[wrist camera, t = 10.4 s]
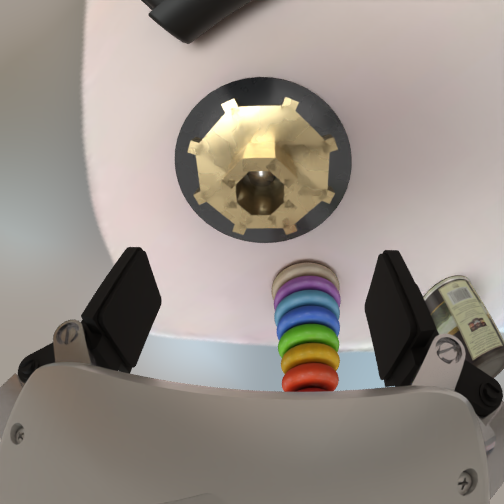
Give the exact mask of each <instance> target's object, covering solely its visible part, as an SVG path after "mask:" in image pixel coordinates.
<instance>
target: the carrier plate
mask: <svg viewBox="0 0 504 504" xmlns="http://www.w3.org/2000/svg"><path fill="white" fill-rule="evenodd" d="M284 97H288V98H290V99H293V100H295V101H298V102H299V103H298V106H297V108H296V110H295V111H296V112H297V113H298V114H299V115H300V116H301V117H302V118H303V119H304V120H306V121H307V122H308V123H309V124H310V125H311V126H312V127H313V128H314V129H315V130H316V131H317V132H318V133H319V135H320V136H321V137H323V136H326V135H329V134H331V135H332V136H333V137H334V140H335V142H336V145H337V148H338V150H335V151H332V152H330V153H329V173H328V186H331V187H332V188H333V190H334V192H335V195H334V196H333V198H332V200H331V202H330V204H329V203H326V202H324V201H321V202H320V203H319V204H317V205H316V206H315V207H314V208H313V209H312V210H310V211H309V212H308V213H307V214H306V215H304V216H303V217H302V218H301V219H300V220H299V221H297V222H296V225H297V231H296V232H293V233H290V234H287V235H286V233H285V231H284V229H283V228H246V230H245V233H244V235H242V234H239V233H236V232H233V227H234V223H232V222H231V221H230V220H229V219H227V218H226V217H225V216H224V215H222V214H221V213H220V212H219V211H217V210H216V209H215V208H214V207H212V206H211V205H210V204H209V203H207V202H205V203H203V204H200V205H199V204H198V202H197V200H196V199H195V197H194V193H195V192H196V190H197V189H198V188H200V184H199V177H198V169H197V161H196V155H194V154H191V153H188V148H189V144H190V141H191V140H192V139H193V138H195V137H197V138H200V139H203V138H204V137H205V136H206V135H207V133H208V132H209V131H210V130H211V129H212V128H213V127H214V125H215V124H216V123H217V122H218V121H219V120H220V119H221V118H222V116H223V115H224V114H225V111H224V109H223V107H222V104H224V103H226V102H228V101H230V100H232V99H234V98H237V100H238V102H239V104H240V106H242V105H271V104H282V102H283V99H284ZM175 169H176V175H177V179H178V183H179V185H180V188H181V191H182V193H183V195H184V197H185V198H186V200H187V202H188V203H189V205H190V206H191V207H192V209H193V210H194V211H195V212H196V213H197V214H198V216H199V217H200V218H202V219H203V220H204V221H205V222H206V223H207V224H209V225H210V226H212V227H213V228H215V229H216V230H218V231H220V232H222V233H224V234H226V235H228V236H231V237H233V238H236V239H240V240H244V241H249V242H257V243H272V242H280V241H286V240H289V239H293V238H296V237H298V236H301V235H303V234H306V233H307V232H309V231H311V230H313V229H314V228H316V227H317V226H318V225H320V224H321V223H323V222H324V221H325V220H326V219H327V218H328V217H329V216H330V215H331V214H332V213H333V211H334V210H335V209H336V208H337V206H338V205H339V203H340V201H341V200H342V198H343V196H344V194H345V192H346V189H347V186H348V183H349V180H350V174H351V149H350V144H349V140H348V137H347V134H346V132H345V129H344V127H343V125H342V123H341V121H340V120H339V118H338V117H337V115H336V114H335V112H334V111H333V110H332V109H331V108H330V106H329V105H328V104H327V103H326V102H324V101H323V100H322V99H321V98H320V97H319V96H317V95H316V94H314V93H313V92H311V91H310V90H308V89H306V88H304V87H302V86H300V85H298V84H296V83H293V82H289V81H286V80H282V79H276V78H267V77H256V78H246V79H242V80H238V81H234V82H231V83H229V84H226V85H224V86H221V87H220V88H218V89H216V90H214V91H213V92H211V93H210V94H208V95H207V96H206V97H205V98H203V99H202V100H201V101H200V102H199V103H198V104H197V105H196V106H195V107H194V108H193V109H192V111H191V112H190V114H189V115H188V116H187V118H186V120H185V122H184V124H183V125H182V127H181V130H180V133H179V136H178V139H177V143H176V149H175ZM247 175H248V176H249V179H250V181H251V182H252V183H253V184H254V185H255V186H258V187H265V186H268V185H269V184H270V183H271V182H272V181H273V180H274V179H275V178H277V177H276V176H275V175H273V174H272V173H271V172H270V171H249V172H248V173H247Z"/></svg>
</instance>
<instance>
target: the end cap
mask: <svg viewBox="0 0 504 504" xmlns="http://www.w3.org/2000/svg"><path fill="white" fill-rule="evenodd" d="M141 1H142V2H144V3H145V4H146V5H147V6H148V7H149V8H150V9H151V10H152V11H151V12H150V13H149V16H150V17H151V18H152V19H153V20H154V21H155V22H156V23H158V24H159V25H160V26H161V27H162V28H164V29H165V30H166V31H168V32H169V33H170V34H171V35H173V36H174V37H176V38H177V39H179V40H180V41H182V42H184V43H187V44H190V43H191V42H193V41H194V40H195V39H197V38H198V37H199V36H200V35H202V34H203V33H204V32H206V31H207V30H208V29H210V28H211V27H212V26H214V25H215V24H217V23H218V22H219V21H221V20H222V19H224V18H225V17H227V16H228V15H230V14H231V13H233V12H234V11H236V10H237V9H239V8H240V7H242V6H244V5H245V4H247V3H249V2H250V1H252V0H141Z"/></svg>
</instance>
